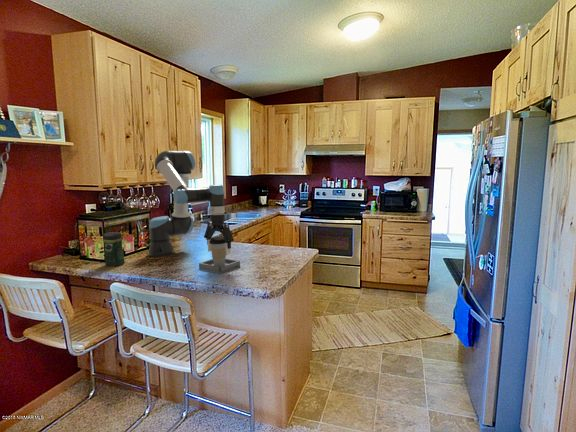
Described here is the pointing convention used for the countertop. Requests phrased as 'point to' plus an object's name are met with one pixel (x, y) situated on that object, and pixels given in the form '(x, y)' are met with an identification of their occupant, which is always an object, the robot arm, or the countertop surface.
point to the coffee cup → (218, 251)
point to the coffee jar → (113, 249)
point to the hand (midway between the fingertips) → (219, 252)
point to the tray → (210, 267)
